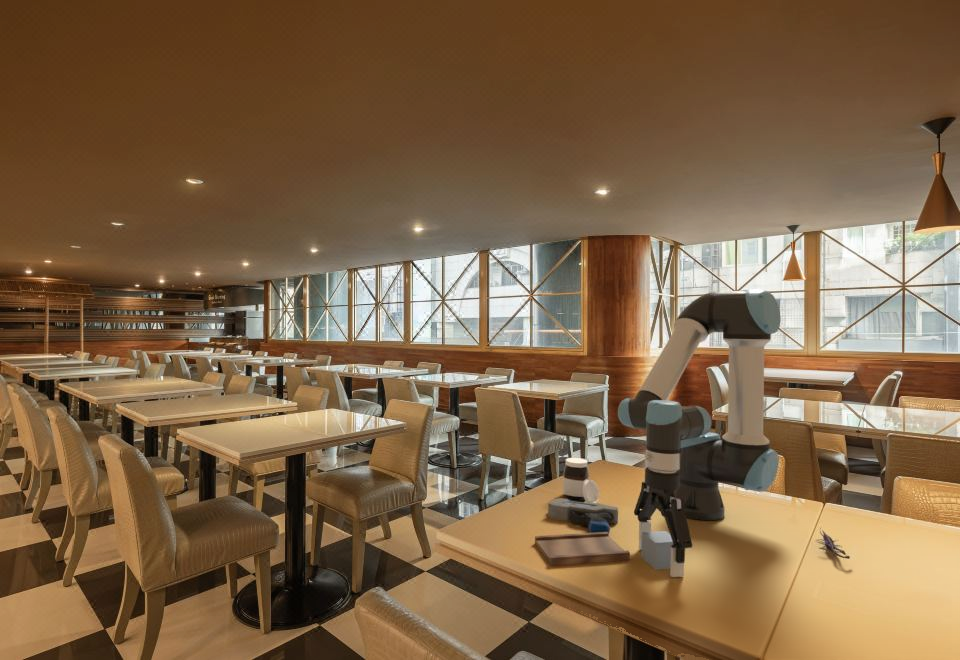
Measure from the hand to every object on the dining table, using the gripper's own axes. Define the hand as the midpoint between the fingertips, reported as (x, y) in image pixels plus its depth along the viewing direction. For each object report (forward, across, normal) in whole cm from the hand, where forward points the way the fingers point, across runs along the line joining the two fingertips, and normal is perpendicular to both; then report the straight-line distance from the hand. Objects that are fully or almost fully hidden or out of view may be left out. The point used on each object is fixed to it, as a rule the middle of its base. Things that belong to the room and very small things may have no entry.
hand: (659, 561), depth 116 cm
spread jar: (0, -44, -1) cm, 44 cm away
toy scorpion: (0, +1, +45) cm, 45 cm away
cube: (0, 0, 0) cm, 0 cm away
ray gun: (+1, -25, -9) cm, 26 cm away
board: (0, -8, -16) cm, 18 cm away
